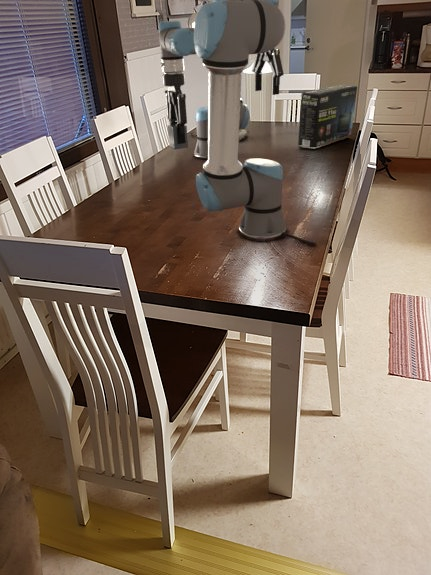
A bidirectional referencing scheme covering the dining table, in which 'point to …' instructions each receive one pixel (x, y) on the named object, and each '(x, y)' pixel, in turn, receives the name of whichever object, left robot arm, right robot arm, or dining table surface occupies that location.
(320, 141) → the router box
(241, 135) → the fossil
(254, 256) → the dining table surface
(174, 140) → the block
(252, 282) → the dining table surface
